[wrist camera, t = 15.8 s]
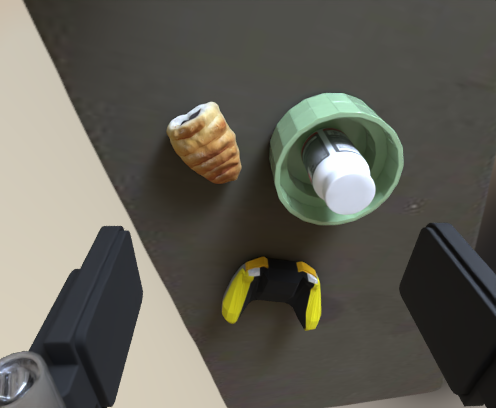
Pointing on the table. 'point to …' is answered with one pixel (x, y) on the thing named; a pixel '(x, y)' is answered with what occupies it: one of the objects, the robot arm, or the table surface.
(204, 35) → the table surface
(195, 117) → the pastry
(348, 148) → the pill bottle
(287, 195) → the green bowl
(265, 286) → the gaming controller
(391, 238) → the table surface
